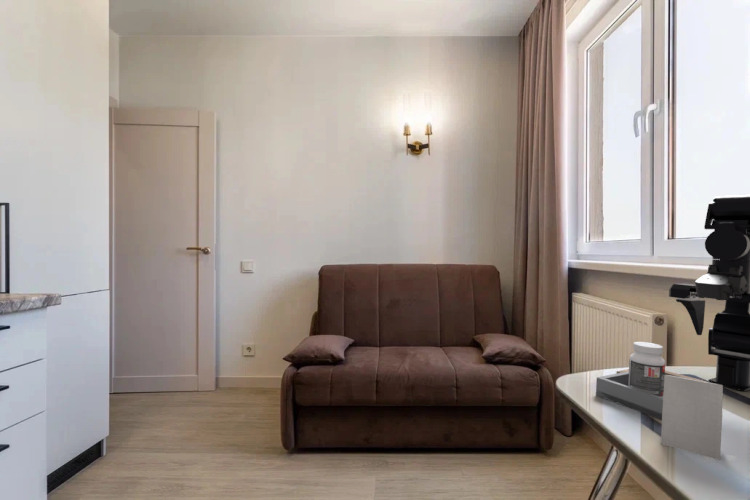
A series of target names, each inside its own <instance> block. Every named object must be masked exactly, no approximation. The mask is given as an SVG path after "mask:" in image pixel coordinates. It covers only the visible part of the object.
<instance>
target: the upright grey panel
mask: <svg viewBox="0 0 750 500" xmlns="http://www.w3.org/2000/svg"><path fill="white" fill-rule="evenodd" d="M703 381H704V380H702V381H698V380H692V379H687V378H682V377H676V376H671V375H665V377H664V393H663V411H662V420H661V431H660V432H661V433H660V435H661V436H660V445H664V446H668V447H671V448H675V449H679V450H682V451H686V452H689V453H693V454H696V455H697V454H698V455H700V456H703V457H707V458H710V459H711V458H712V459H716V460H721V447H722V432H723V431H722V430H723V429H722V428H723V427H722V426H723V397H724V396H723V393H724V392H723V391H724V386H723V385H719V384H715V383H711V382H709V381H706V382H703ZM708 382H709V383H708Z"/></svg>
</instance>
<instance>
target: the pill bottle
mask: <svg viewBox="0 0 750 500" xmlns="http://www.w3.org/2000/svg"><path fill="white" fill-rule="evenodd" d="M663 348H664V346H662V345H661V344H657V343H652V342H647V341H633V345H632V349H633V351H634V352H633V353H631V354H630V356H629V359H628V360H629V362H628V369H629V378H628V386H629V387H633V388H636V389H639V390H642V391H645V392H648V393H651V394H654V395H657V396H660V397H661V396H663V393H664V377H665V370H666V361H665V359H664V358H663V357H662V356H661V355H662V354H663V353H664V350H663Z"/></svg>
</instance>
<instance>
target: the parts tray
mask: <svg viewBox="0 0 750 500" xmlns="http://www.w3.org/2000/svg"><path fill="white" fill-rule="evenodd" d="M616 373H617V372H616ZM616 373H613V374H608V375H603V376H602V375H601V376H597V377H596V385H595V387H596V388H595V395H596V396H597V397H600V398H603V399H606V400H608V401H610V402H614V403H617V404H619V405H621V406H623V407H624V406H625V407H627V408H629V409H632V410H635V411H638V412H640V413H643V414H645V415H648V416H651V417H653V418H657V419H659V420H661V421H662V411H663V396H661V397H660V396H657V395H654V394H651V393H648V392H645V391H642V390H639V389H636V388H633V387H629V386H628V378H629V371H628V372H623V373H617V374H616Z"/></svg>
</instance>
